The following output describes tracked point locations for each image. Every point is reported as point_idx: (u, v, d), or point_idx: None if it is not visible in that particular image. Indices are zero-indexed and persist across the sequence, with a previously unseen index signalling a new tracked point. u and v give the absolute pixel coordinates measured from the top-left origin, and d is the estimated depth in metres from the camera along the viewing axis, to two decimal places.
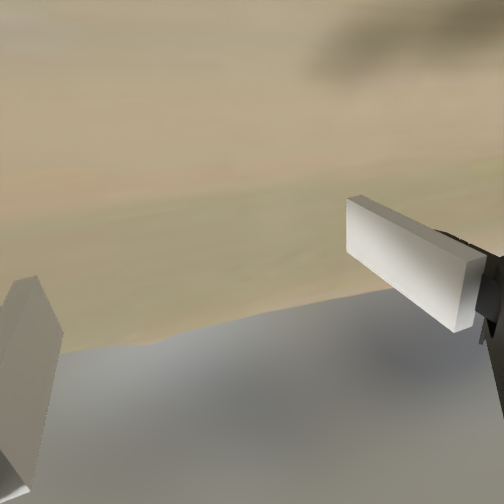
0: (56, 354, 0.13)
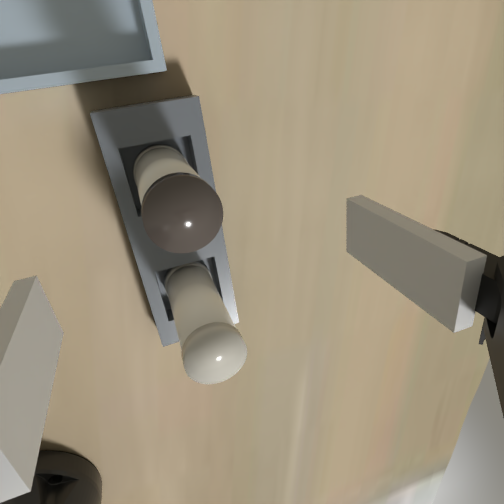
0: (56, 354, 0.13)
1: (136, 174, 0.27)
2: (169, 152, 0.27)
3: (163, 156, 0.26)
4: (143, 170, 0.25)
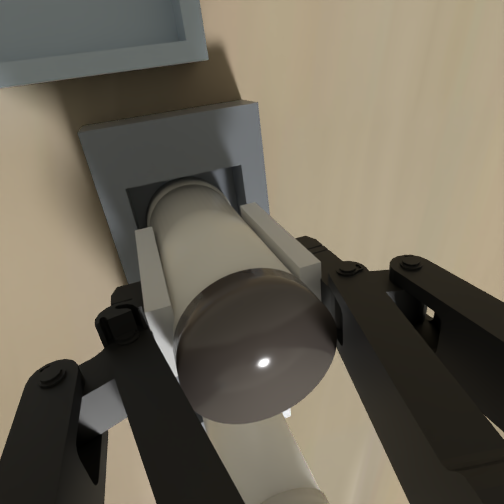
0: None
1: (154, 232, 0.17)
2: (208, 196, 0.17)
3: (202, 208, 0.15)
4: (169, 235, 0.14)
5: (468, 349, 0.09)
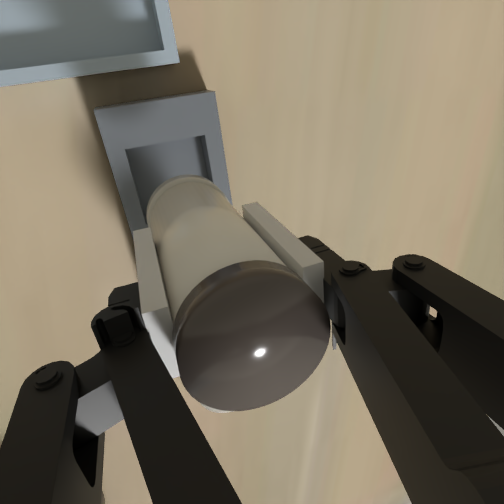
0: None
1: (154, 228, 0.17)
2: (207, 193, 0.17)
3: (201, 204, 0.15)
4: (168, 230, 0.15)
5: (471, 349, 0.09)
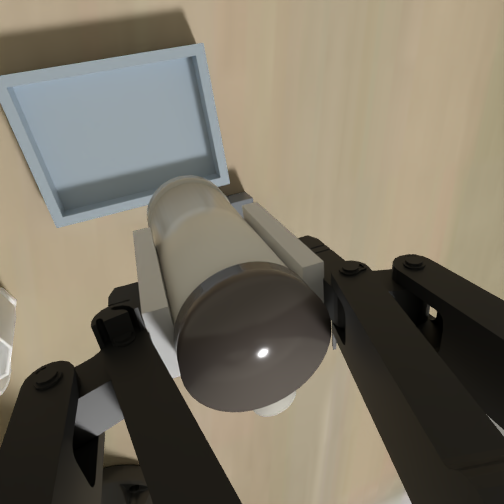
0: None
1: (154, 229, 0.17)
2: (208, 194, 0.17)
3: (202, 205, 0.15)
4: (169, 231, 0.15)
5: (471, 349, 0.09)
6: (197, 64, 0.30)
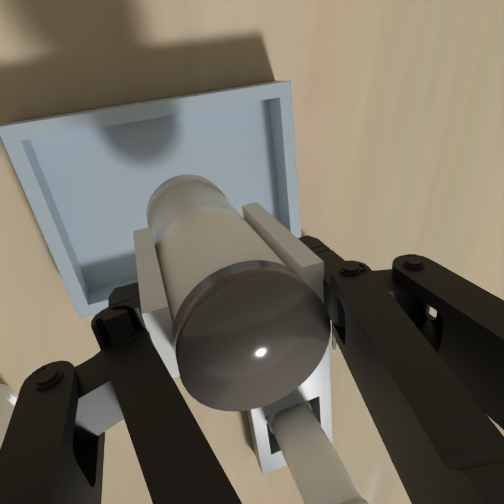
0: None
1: (154, 228, 0.17)
2: (207, 193, 0.17)
3: (201, 204, 0.15)
4: (168, 230, 0.15)
5: (470, 348, 0.09)
6: (279, 108, 0.22)
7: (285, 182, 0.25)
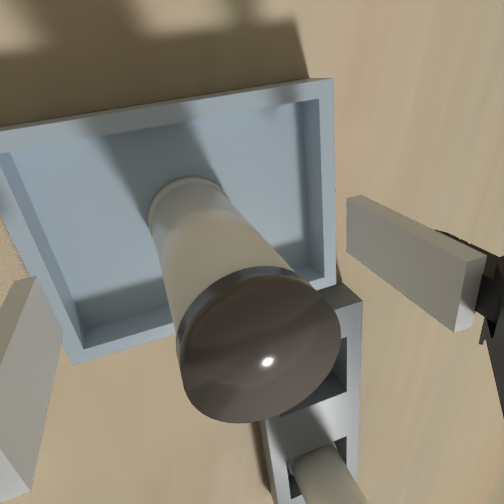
0: (56, 354, 0.13)
1: (155, 230, 0.17)
2: (211, 195, 0.17)
3: (205, 207, 0.15)
4: (171, 233, 0.14)
5: None
6: (317, 112, 0.18)
7: (320, 200, 0.20)
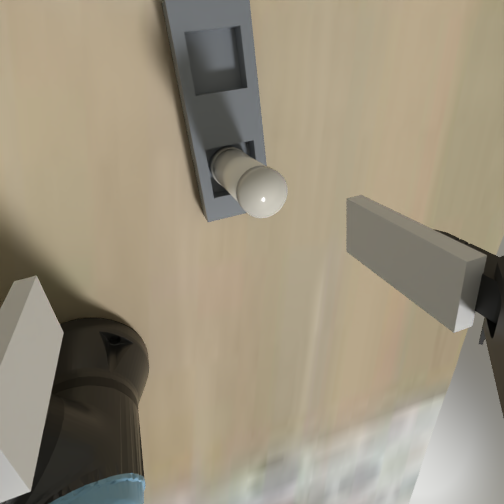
0: (56, 354, 0.13)
1: None
2: None
3: None
4: None
5: None
6: None
7: None
